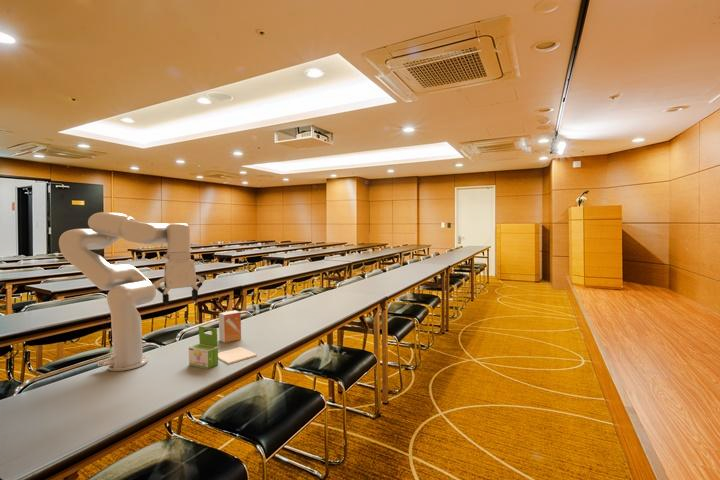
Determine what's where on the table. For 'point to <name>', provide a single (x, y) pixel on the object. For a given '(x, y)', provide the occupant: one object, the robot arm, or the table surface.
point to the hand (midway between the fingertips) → (180, 302)
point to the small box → (229, 326)
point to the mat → (235, 355)
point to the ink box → (205, 350)
